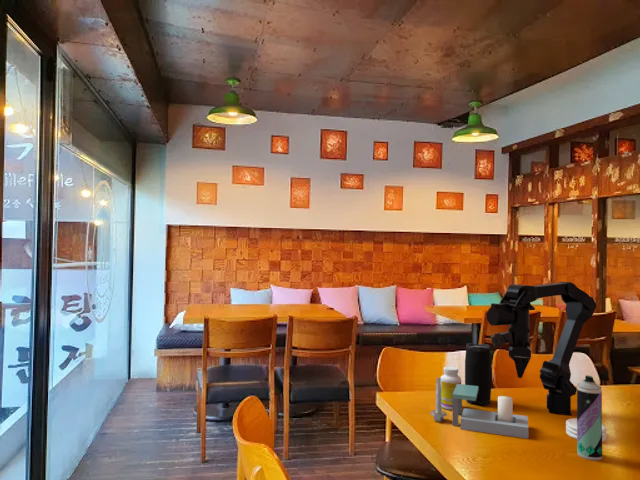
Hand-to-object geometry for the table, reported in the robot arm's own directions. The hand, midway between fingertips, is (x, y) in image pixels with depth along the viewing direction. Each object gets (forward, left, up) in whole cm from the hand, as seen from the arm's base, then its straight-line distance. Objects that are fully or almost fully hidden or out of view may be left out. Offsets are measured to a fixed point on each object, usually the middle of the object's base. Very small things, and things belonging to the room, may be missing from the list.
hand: (519, 374), depth 150 cm
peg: (+4, +14, -13) cm, 19 cm away
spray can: (-16, +25, -13) cm, 32 cm away
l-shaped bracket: (+15, +11, -13) cm, 23 cm away
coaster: (-17, +10, -13) cm, 24 cm away
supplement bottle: (+21, 0, -13) cm, 25 cm away
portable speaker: (+13, -9, -13) cm, 21 cm away
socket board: (+7, +14, -13) cm, 20 cm away
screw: (+23, +14, -13) cm, 30 cm away
